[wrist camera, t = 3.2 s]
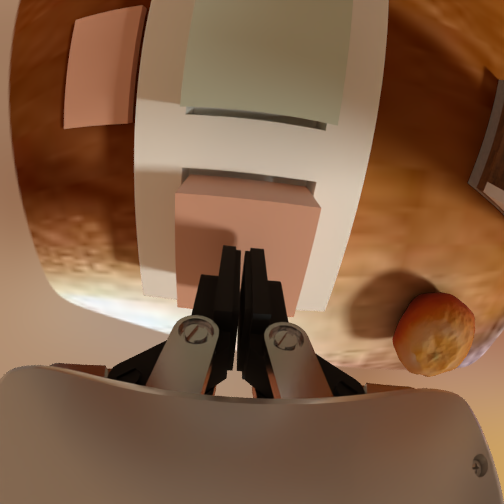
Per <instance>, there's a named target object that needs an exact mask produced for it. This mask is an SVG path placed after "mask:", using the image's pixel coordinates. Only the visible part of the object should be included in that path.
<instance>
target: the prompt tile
mask: <svg viewBox="0 0 504 504" xmlns="http://www.w3.org/2000/svg"><path fill="white" fill-rule="evenodd" d="M146 11H147V8H146V7H145V6H143V5H139V6H133V7H127V8H122V9H117V10H112V11H108V12H103V13H99V14H95V15H92V16H88V17H84V18H81V19H78V20H76V22H75V26H74V31H73V36H72V42H71V47H70V54H69V61H68V69H67V78H66V89H65V105H64V129H68V128H76V127H86V126H97V125H111V124H128V123H133V107H134V94H135V83H136V73H137V65H138V57H139V50H140V44H141V38H142V32H143V26H144V21H145V16H146Z"/></svg>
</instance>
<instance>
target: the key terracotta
mask: <svg viewBox="0 0 504 504" xmlns="http://www.w3.org/2000/svg"><path fill="white" fill-rule="evenodd" d="M320 212H321V207H320V205H319V204H318V202H317V201H316V200H315V198H314V197H313V195H312V194H311V192H310V191H309V190H308V188H307V187H306V186H299V185H291V184H284V183H276V182H268V181H260V180H251V179H241V178H231V177H220V176H208V175H194V174H190V175H189V176H188V178H187V179H186V180H185V181H184V183H183V184H182V185H181V186H180V187H179V189H178V190H177V191H176V193H175V261H176V287H177V305H178V307H181V308H190V309H193V306H194V302H195V298H196V293H197V289H198V285H199V280H200V276H201V274H204V275H214V276H219V269H220V262H221V255H222V249H223V245H227V246H236V250H241V271H240V289H241V280H242V272H243V264H244V255H245V251H250V248H259V249H264V253H265V261H266V270H267V278H268V280H271V281H280V282H281V284H282V290H283V295H284V301H285V306H286V312H287V317H294V314H295V310H296V307H297V303H298V300H299V296H300V292H301V289H302V285H303V281H304V278H305V274H306V270H307V266H308V262H309V258H310V254H311V250H312V246H313V242H314V238H315V234H316V230H317V226H318V221H319V217H320Z"/></svg>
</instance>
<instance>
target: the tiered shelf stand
mask: <svg viewBox="0 0 504 504" xmlns="http://www.w3.org/2000/svg"><path fill="white" fill-rule="evenodd" d="M468 184H469V185H470V186H472V187H473V188H474V189H475V190H477V191H478V192H479V193H480V194H481V195H482V196H484V197H485V198H486V199H487V200H488V201H489V202H490V203H492V204H493V205H494V206H495V207H496V208H497V209H498V210H499V211H500V212H501V213H502V214H503V215H504V80H499V81H498V86H497V91H496V96H495V100H494V105H493V109H492V113H491V116H490V120H489V124H488V127H487V130H486V134H485V137H484V140H483V143H482V146H481V149H480V152H479V155H478V158H477V160H476V163H475V166H474V168H473V171H472V173H471V176H470V178H469V181H468Z"/></svg>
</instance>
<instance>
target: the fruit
mask: <svg viewBox="0 0 504 504" xmlns="http://www.w3.org/2000/svg"><path fill="white" fill-rule="evenodd" d="M474 333H475V318H474V314H473V313H472V312H471V310H470V309H469V308H468V307H467V306H466V305H465V304H464V303H462V302H461V301H460V300H459V299H458V298H456V297H455V296H453V295H451V294H447V293H441V292H439V293H424V294H420V295H418V296H417V297H416V298H415V299H414V300H413V301H412V302H411V303H410V305H409V306H408V308H407V310H406V311H405V313H404V315H403V316H402V318H401V319H400V321H399V323H398V325H397V328H396V331H395V333H394V336H393V345H394V348H395V350H396V352H397V355H398V358H399V360H400V361H401V362H402V364H403V365H404V366H405V367H406V369H407V370H408V371H409V372H411V373H414V374H421V375H424V376H427V377H430V376H435V375H438V374H441V373H444V372H447V371H451V370H453V369H455V368H457V367H458V366H459V365H460V364H461V362H462V361H463V359H464V358H465V357H466V356H467V354H468V352H469V350H470V348H471V345H472V341H473V338H474Z"/></svg>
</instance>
